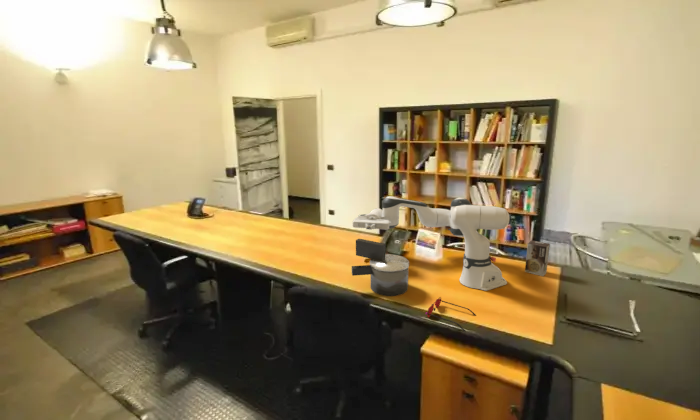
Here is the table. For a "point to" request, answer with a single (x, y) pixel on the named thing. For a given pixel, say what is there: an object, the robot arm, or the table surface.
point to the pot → (384, 280)
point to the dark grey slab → (380, 256)
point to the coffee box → (537, 257)
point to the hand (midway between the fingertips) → (368, 228)
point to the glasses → (438, 306)
